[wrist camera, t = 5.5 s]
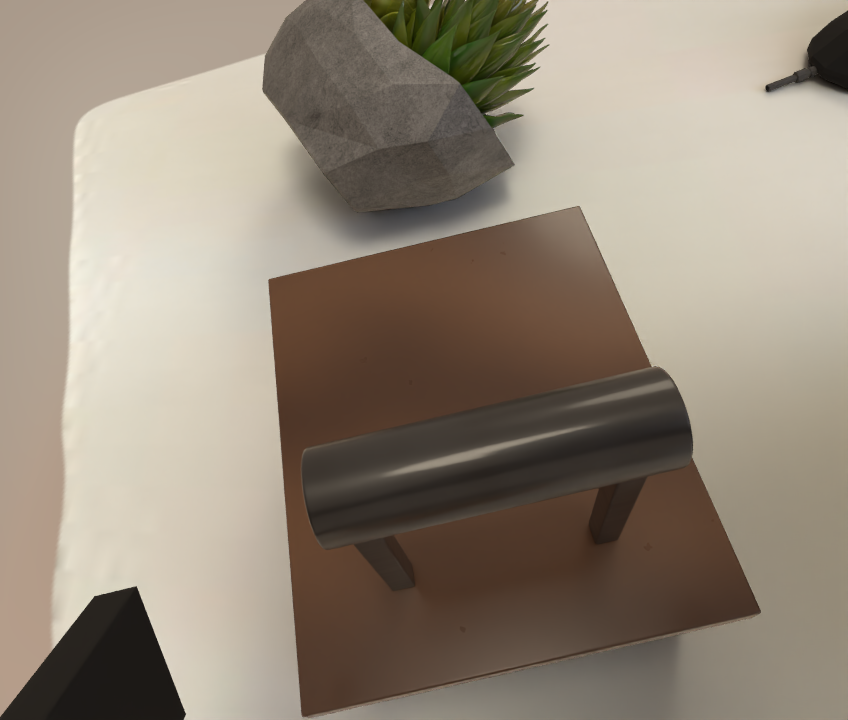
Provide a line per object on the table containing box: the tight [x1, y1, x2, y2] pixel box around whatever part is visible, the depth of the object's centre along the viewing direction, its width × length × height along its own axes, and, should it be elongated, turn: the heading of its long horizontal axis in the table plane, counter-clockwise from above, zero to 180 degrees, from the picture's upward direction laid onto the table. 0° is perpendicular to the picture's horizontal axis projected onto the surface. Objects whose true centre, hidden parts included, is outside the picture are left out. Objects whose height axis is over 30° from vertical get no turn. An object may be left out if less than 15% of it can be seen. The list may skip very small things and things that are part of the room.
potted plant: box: [262, 0, 549, 212], centre depth 35 cm, size 12×13×15 cm
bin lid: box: [268, 206, 761, 718], centre depth 18 cm, size 15×13×9 cm
